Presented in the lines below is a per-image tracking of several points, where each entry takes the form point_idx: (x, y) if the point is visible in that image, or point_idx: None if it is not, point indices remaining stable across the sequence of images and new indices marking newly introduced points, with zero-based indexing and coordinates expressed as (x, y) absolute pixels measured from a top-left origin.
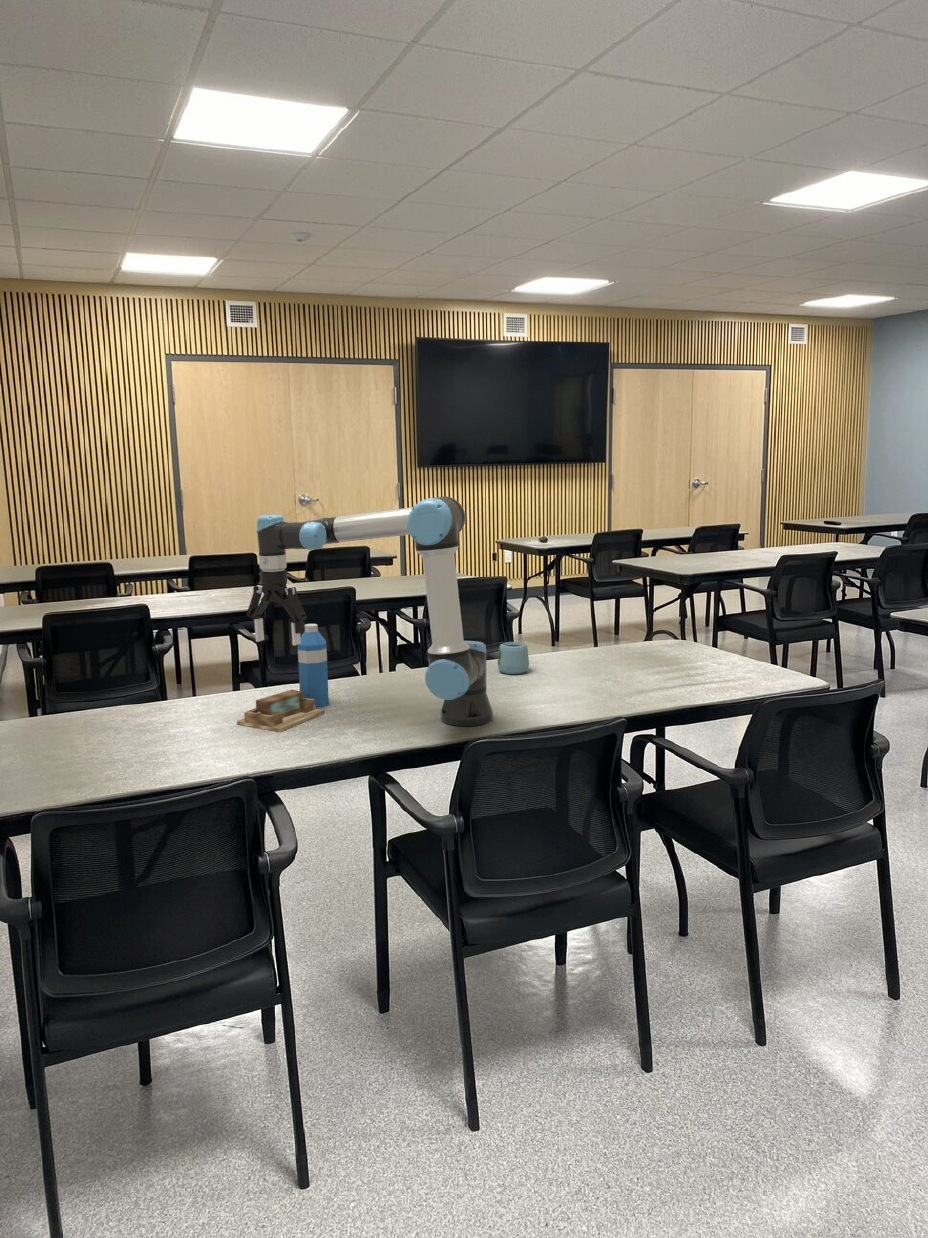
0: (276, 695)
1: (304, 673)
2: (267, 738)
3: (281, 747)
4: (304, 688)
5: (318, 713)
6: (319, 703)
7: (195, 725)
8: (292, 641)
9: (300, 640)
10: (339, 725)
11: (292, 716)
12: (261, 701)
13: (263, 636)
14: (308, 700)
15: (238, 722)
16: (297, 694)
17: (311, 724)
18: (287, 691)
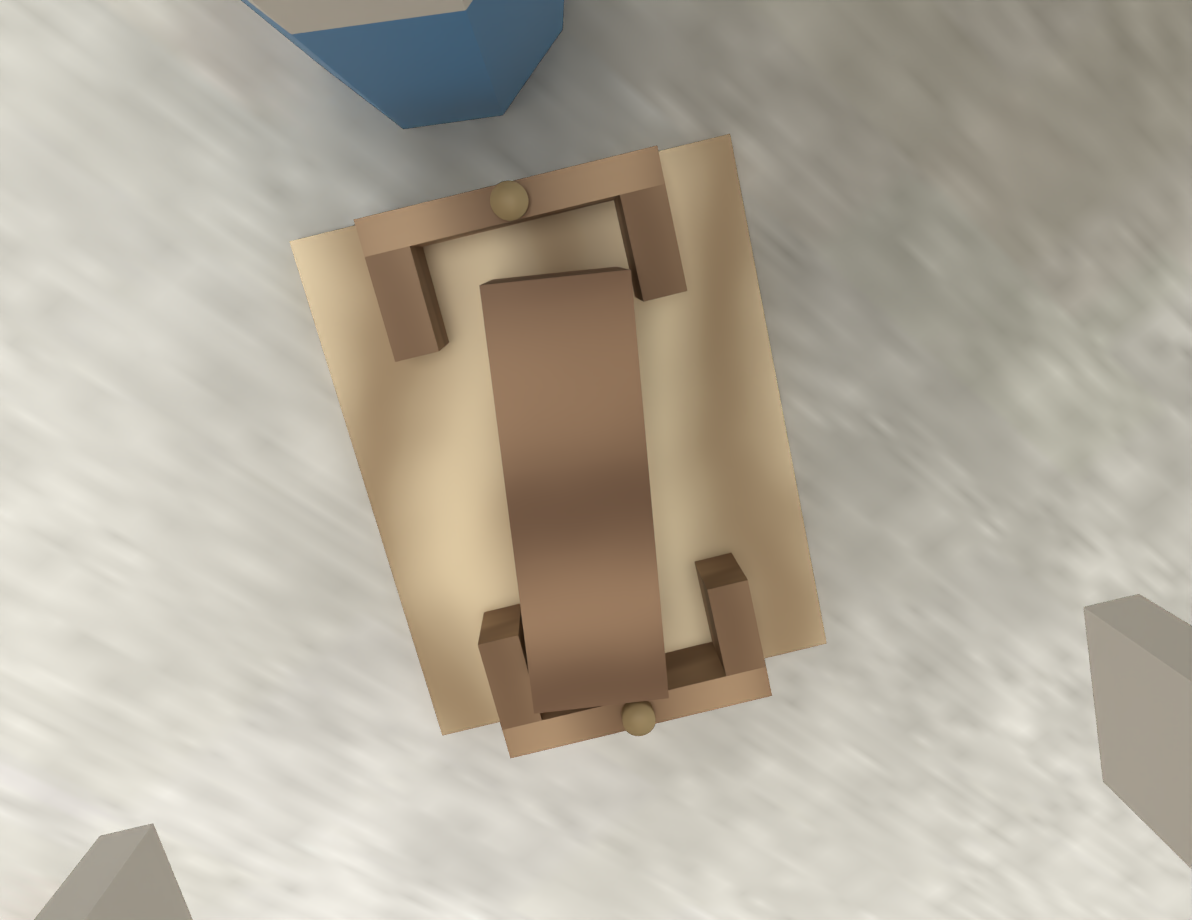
0: (543, 511)
1: (427, 54)
2: (851, 752)
3: (1052, 790)
4: (438, 90)
5: (743, 210)
6: (556, 29)
7: (251, 897)
8: (1157, 831)
9: (1186, 624)
10: (1047, 269)
11: (664, 414)
12: (603, 703)
13: (120, 889)
14: (636, 212)
15: (457, 727)
16: (635, 336)
17: (859, 388)
18: (507, 361)
